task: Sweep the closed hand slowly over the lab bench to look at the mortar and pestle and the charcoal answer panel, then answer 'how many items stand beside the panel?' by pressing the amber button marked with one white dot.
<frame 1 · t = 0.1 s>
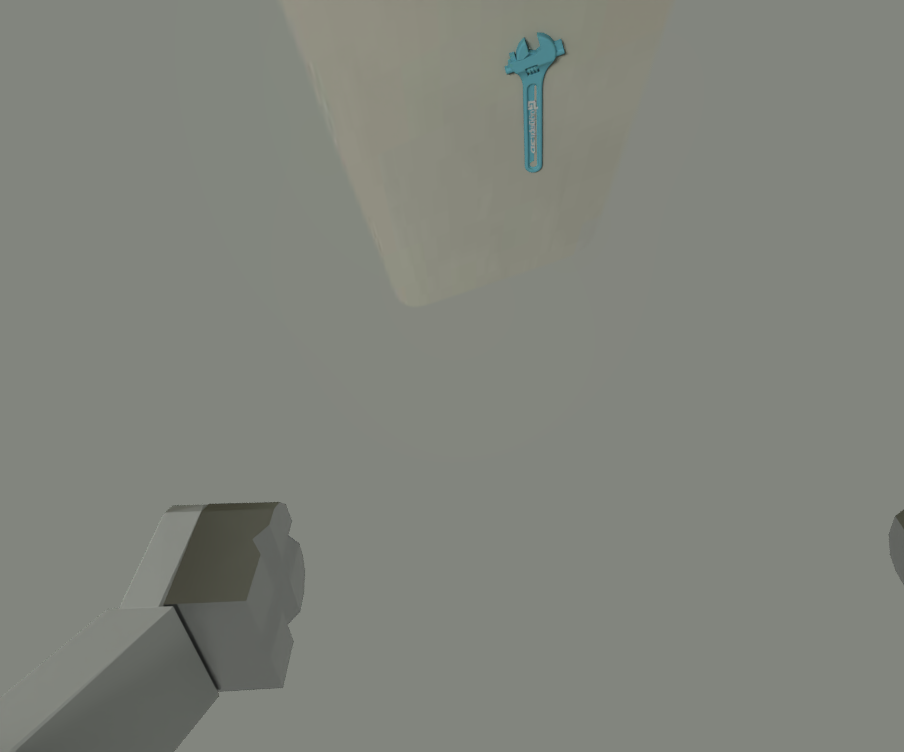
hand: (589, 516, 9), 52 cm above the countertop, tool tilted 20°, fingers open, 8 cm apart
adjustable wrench: (534, 104, 63), on the countertop
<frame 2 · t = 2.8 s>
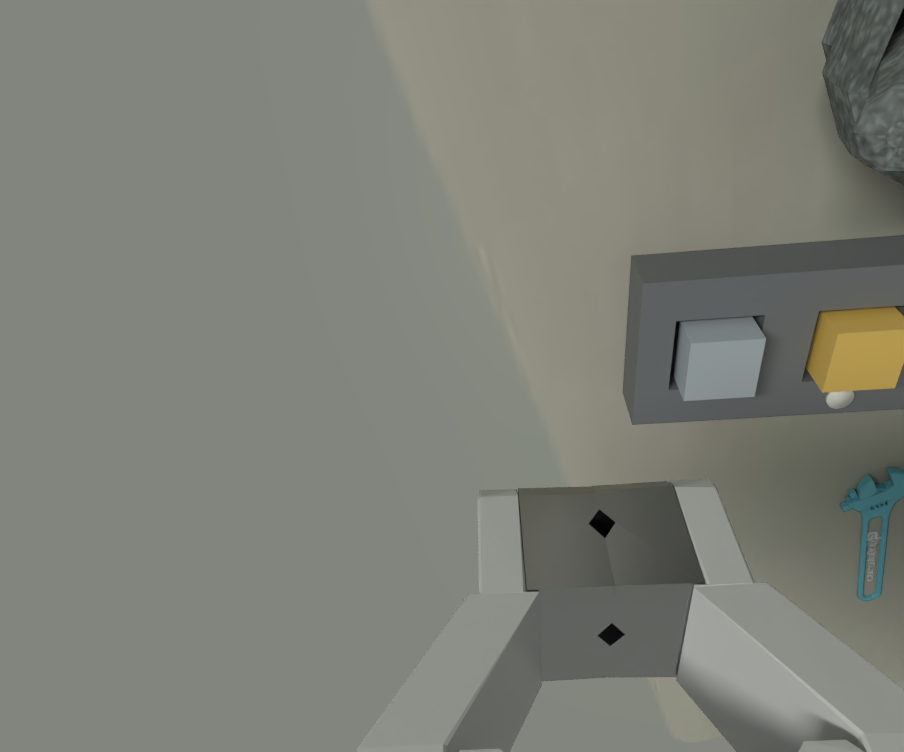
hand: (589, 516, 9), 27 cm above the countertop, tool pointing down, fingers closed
answer panel: (829, 314, 39), on the countertop
button none: (717, 358, 36), point 3 cm above the countertop, slide at 0.0 cm
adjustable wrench: (871, 532, 50), on the countertop
mortar and pestle: (879, 28, 30), on the countertop
button one: (857, 349, 36), point 3 cm above the countertop, slide at 0.0 cm
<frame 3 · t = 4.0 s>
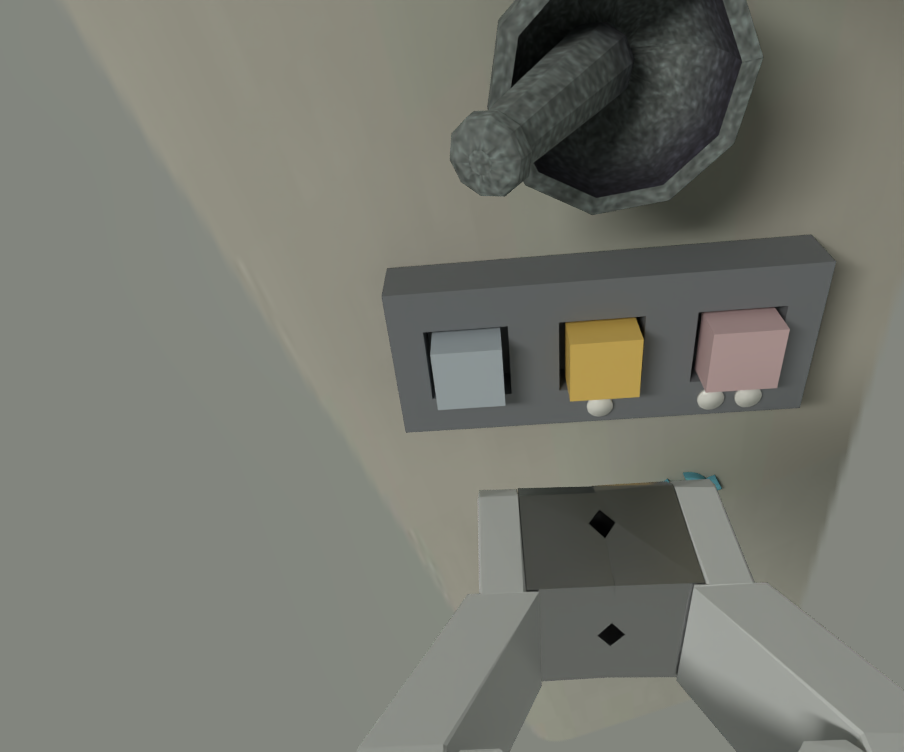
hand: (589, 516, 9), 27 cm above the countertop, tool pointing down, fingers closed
answer panel: (592, 324, 39), on the countertop
button two: (739, 349, 36), point 3 cm above the countertop, slide at 0.0 cm
button none: (468, 368, 37), point 3 cm above the countertop, slide at 0.0 cm
mortar and pestle: (577, 49, 31), on the countertop
button one: (602, 359, 37), point 3 cm above the countertop, slide at 0.0 cm
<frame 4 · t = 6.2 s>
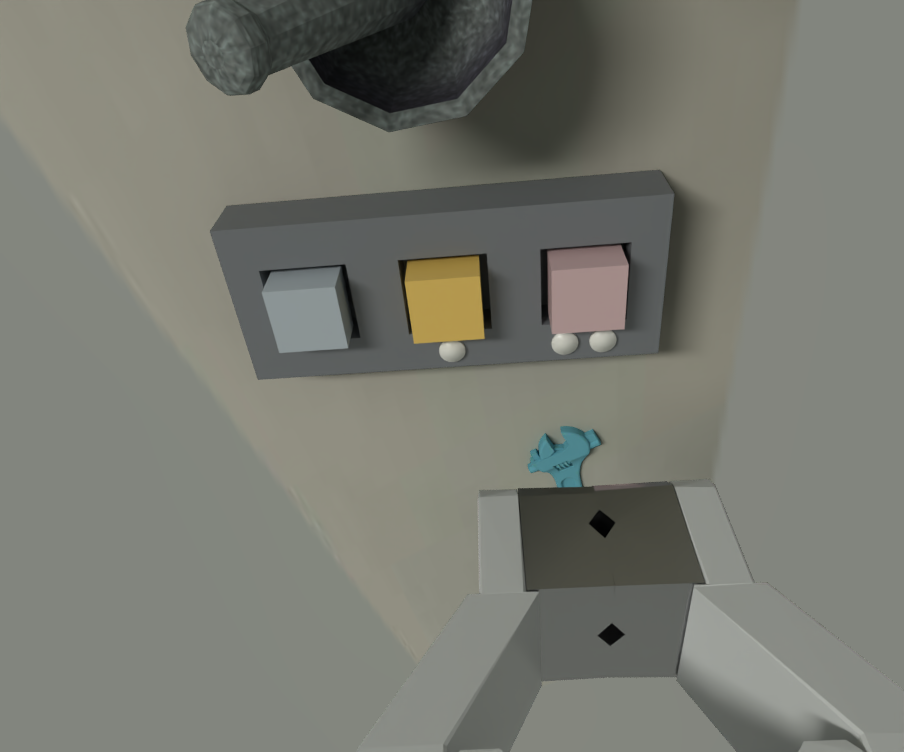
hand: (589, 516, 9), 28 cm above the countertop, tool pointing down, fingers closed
answer panel: (447, 267, 38), on the countertop
button two: (585, 289, 35), point 3 cm above the countertop, slide at 0.0 cm
button none: (309, 309, 36), point 3 cm above the countertop, slide at 0.0 cm
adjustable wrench: (575, 495, 50), on the countertop
button one: (446, 299, 36), point 3 cm above the countertop, slide at 0.0 cm
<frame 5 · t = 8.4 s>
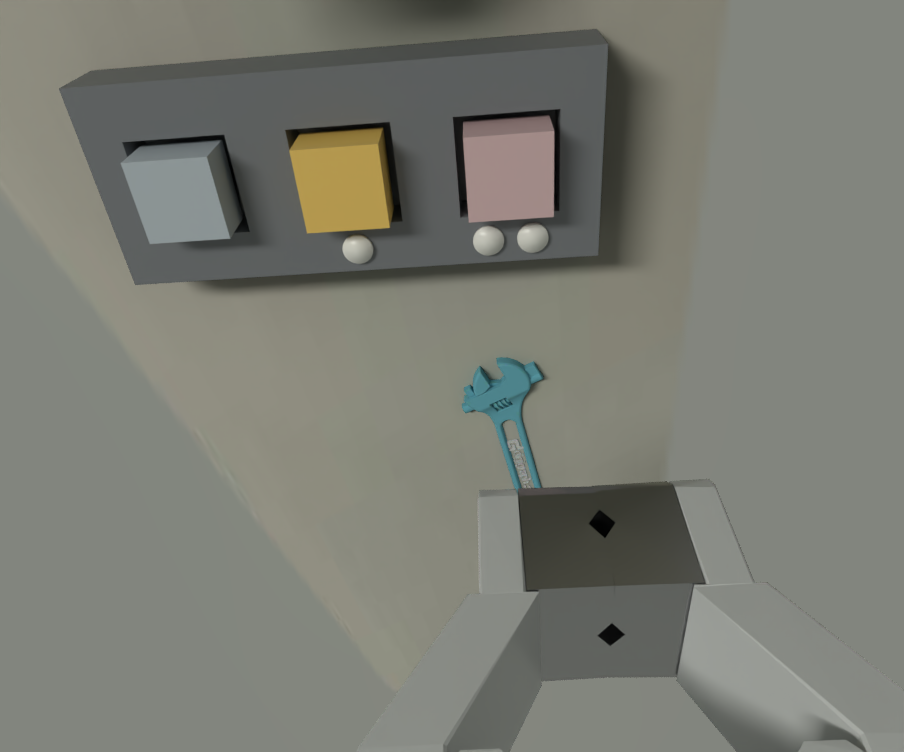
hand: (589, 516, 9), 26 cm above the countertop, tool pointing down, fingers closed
answer panel: (354, 154, 33), on the countertop
button two: (508, 169, 30), point 3 cm above the countertop, slide at 0.0 cm
button none: (185, 192, 31), point 3 cm above the countertop, slide at 0.0 cm
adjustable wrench: (518, 442, 44), on the countertop
button one: (344, 180, 30), point 3 cm above the countertop, slide at 0.0 cm
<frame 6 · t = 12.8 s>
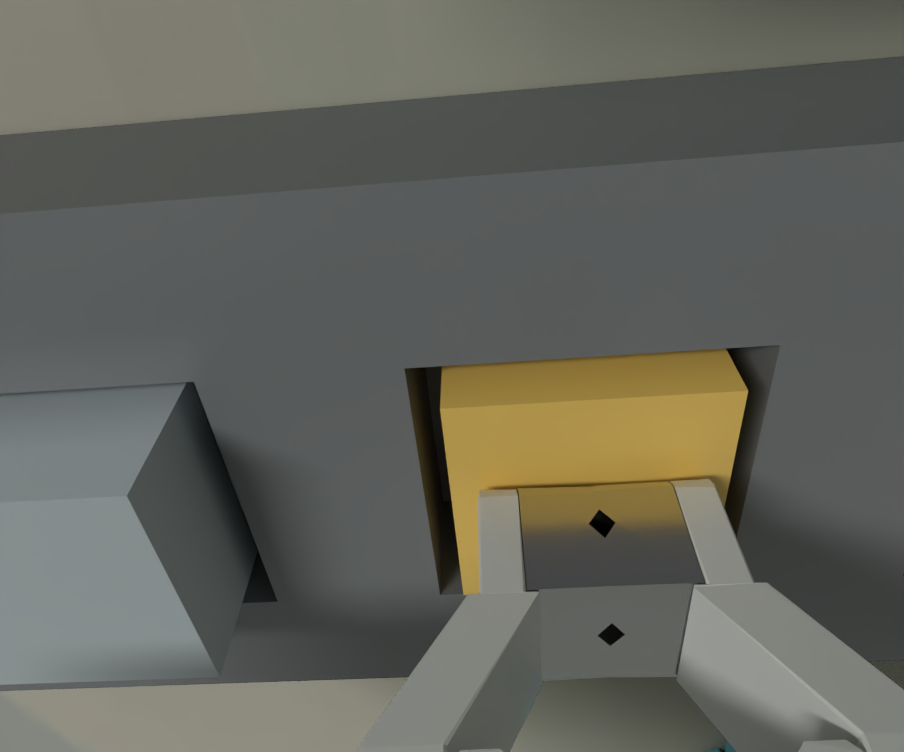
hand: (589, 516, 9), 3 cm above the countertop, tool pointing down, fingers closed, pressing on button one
answer panel: (560, 361, 12), on the countertop
button none: (78, 535, 10), point 3 cm above the countertop, slide at 0.0 cm
button one: (577, 449, 10), point 2 cm above the countertop, slide at 1.2 cm, touching gripper
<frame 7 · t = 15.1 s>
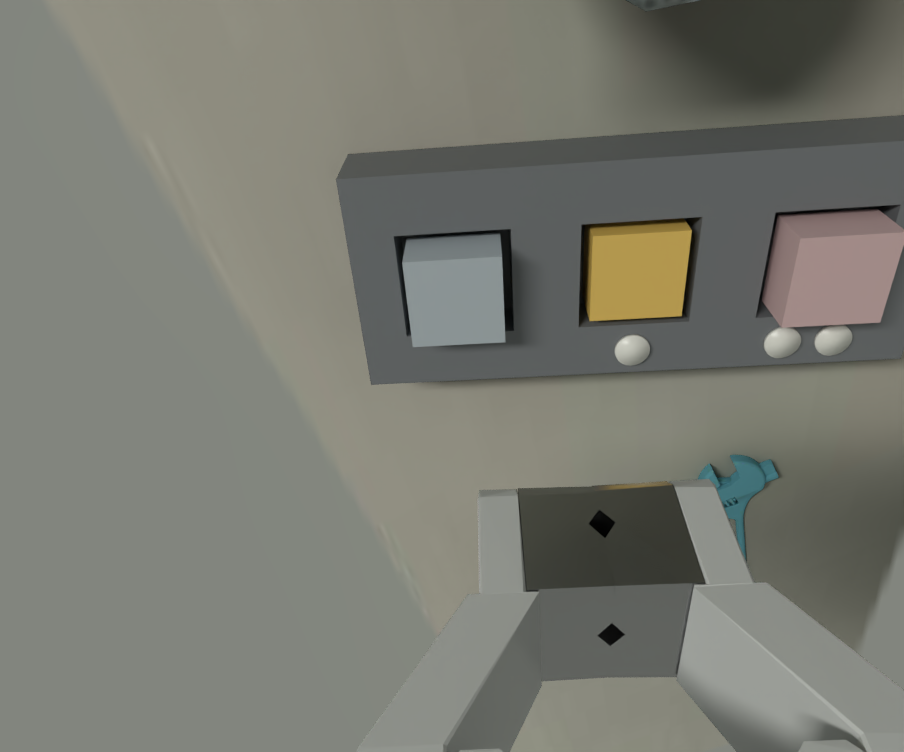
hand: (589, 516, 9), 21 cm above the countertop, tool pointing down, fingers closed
answer panel: (623, 243, 30), on the countertop
button two: (829, 268, 26), point 3 cm above the countertop, slide at 0.0 cm
button none: (456, 290, 27), point 3 cm above the countertop, slide at 0.0 cm
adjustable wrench: (729, 540, 40), on the countertop
button one: (633, 265, 28), point 2 cm above the countertop, slide at 1.3 cm
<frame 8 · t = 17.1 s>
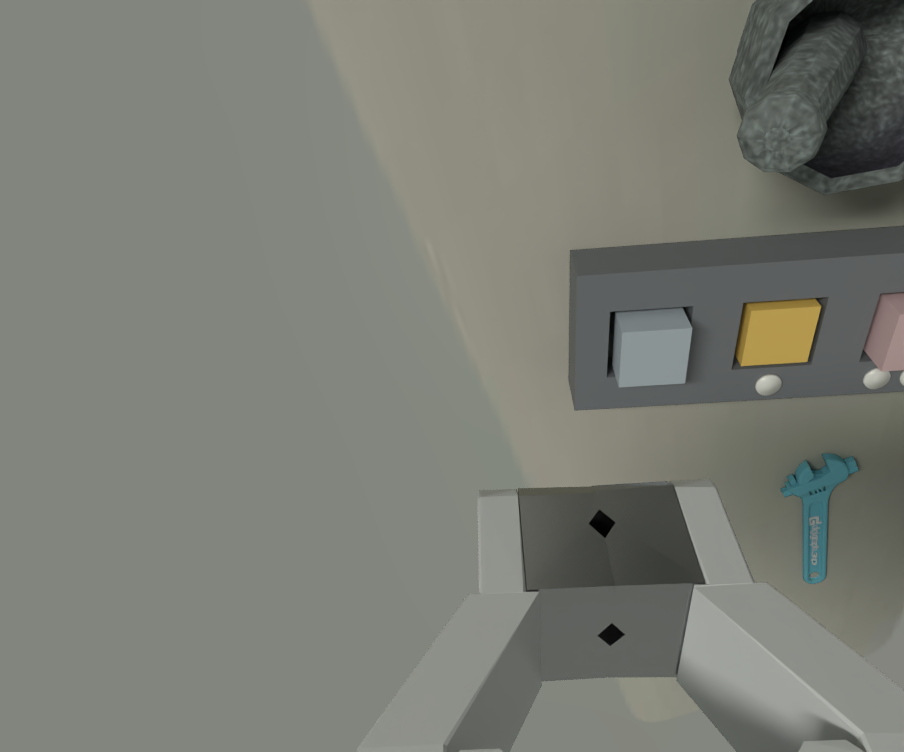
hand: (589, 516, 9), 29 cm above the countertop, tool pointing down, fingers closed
answer panel: (759, 306, 41), on the countertop
button none: (650, 347, 39), point 3 cm above the countertop, slide at 0.0 cm
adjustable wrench: (814, 517, 52), on the countertop
mortar and pestle: (790, 38, 33), on the countertop
button one: (772, 326, 39), point 2 cm above the countertop, slide at 1.3 cm
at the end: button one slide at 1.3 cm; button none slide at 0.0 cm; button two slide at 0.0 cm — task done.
